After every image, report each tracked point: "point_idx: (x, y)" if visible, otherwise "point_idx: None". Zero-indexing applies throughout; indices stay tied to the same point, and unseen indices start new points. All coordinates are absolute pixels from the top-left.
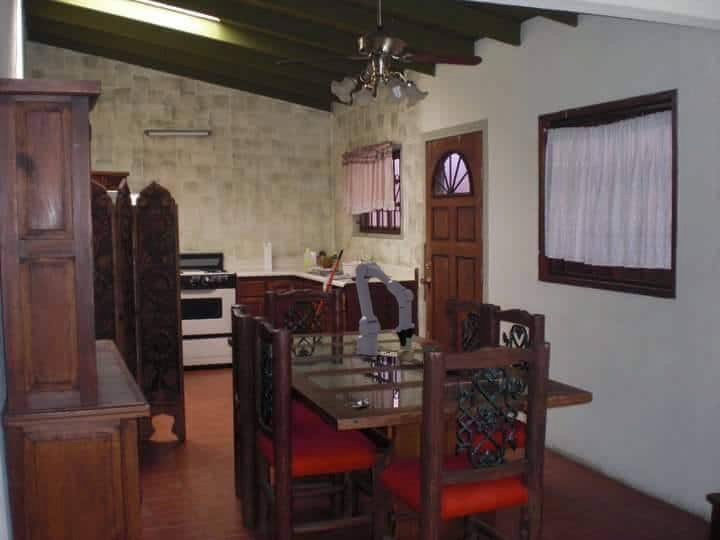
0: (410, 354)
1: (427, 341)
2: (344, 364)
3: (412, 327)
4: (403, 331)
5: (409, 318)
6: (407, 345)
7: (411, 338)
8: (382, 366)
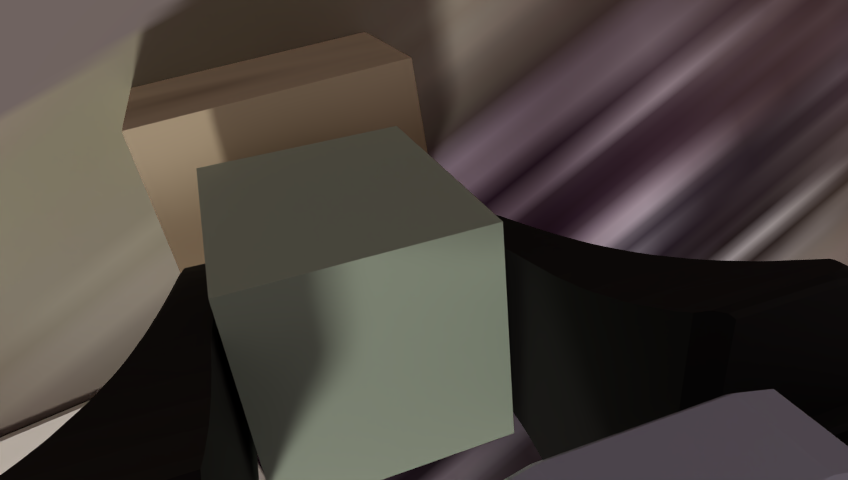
0: (319, 69)
1: None
2: None
3: (738, 408)
4: (833, 429)
5: None
6: (432, 164)
7: (214, 292)
8: (801, 105)
